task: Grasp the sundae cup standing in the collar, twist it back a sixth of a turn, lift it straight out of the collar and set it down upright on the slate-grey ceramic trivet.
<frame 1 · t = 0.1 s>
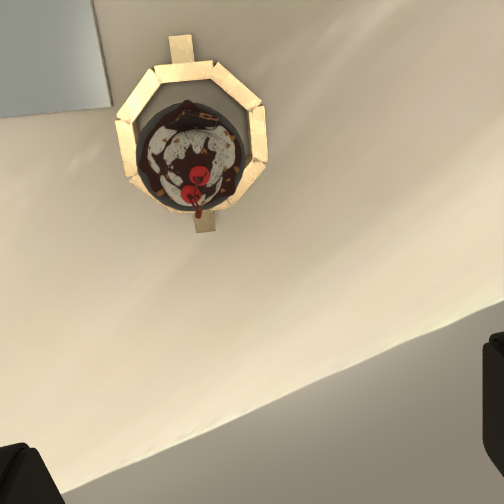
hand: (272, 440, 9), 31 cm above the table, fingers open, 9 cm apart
sundae: (194, 136, 37), resting in collar
collar: (194, 137, 37), on the table
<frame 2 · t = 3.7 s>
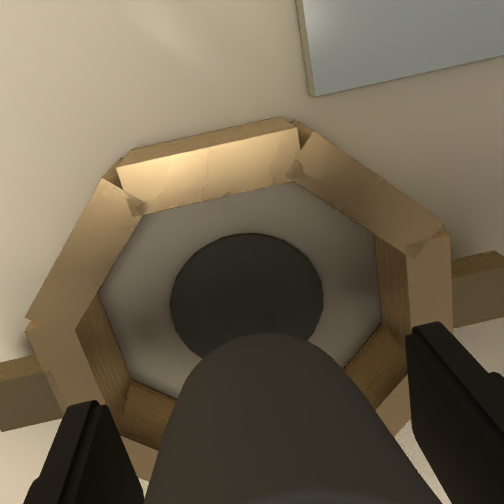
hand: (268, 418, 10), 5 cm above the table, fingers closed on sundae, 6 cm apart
sundae: (246, 302, 15), resting in collar, touching gripper
collar: (246, 305, 15), on the table
when the fingers open (6 cm above the table, at t = 11.4 s): sundae stays where it is, resting on trivet.
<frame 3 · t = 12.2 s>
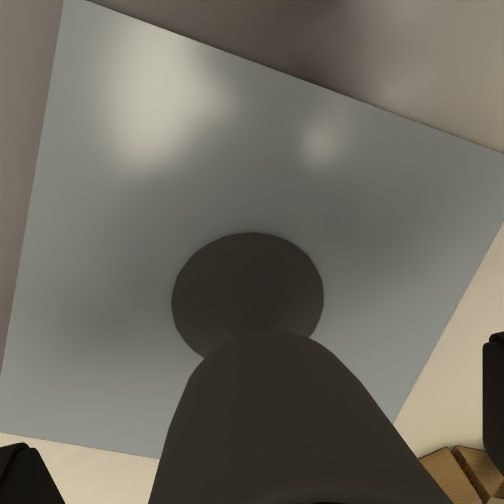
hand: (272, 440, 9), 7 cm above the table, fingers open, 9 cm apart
sundae: (246, 301, 15), point 1 cm above the table, touching trivet
trivet: (245, 294, 16), on the table
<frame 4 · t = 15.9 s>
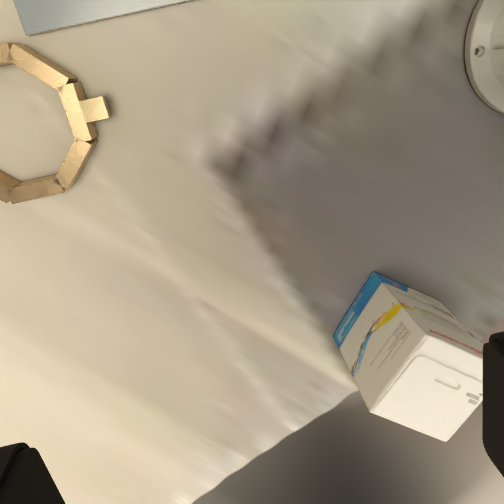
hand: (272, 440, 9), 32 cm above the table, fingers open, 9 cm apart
collar: (21, 124, 37), on the table
ink box: (384, 317, 47), on the table
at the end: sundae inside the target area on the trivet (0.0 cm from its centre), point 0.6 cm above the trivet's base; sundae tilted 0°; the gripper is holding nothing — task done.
